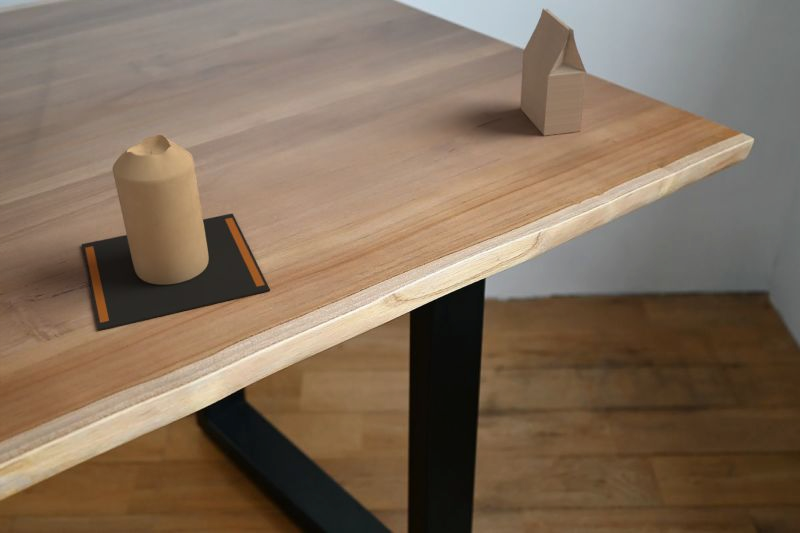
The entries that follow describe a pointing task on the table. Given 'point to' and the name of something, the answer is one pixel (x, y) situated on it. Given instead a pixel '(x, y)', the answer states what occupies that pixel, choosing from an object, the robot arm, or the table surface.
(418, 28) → the table surface
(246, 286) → the mat
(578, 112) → the tan gable-top carton
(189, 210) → the candle
